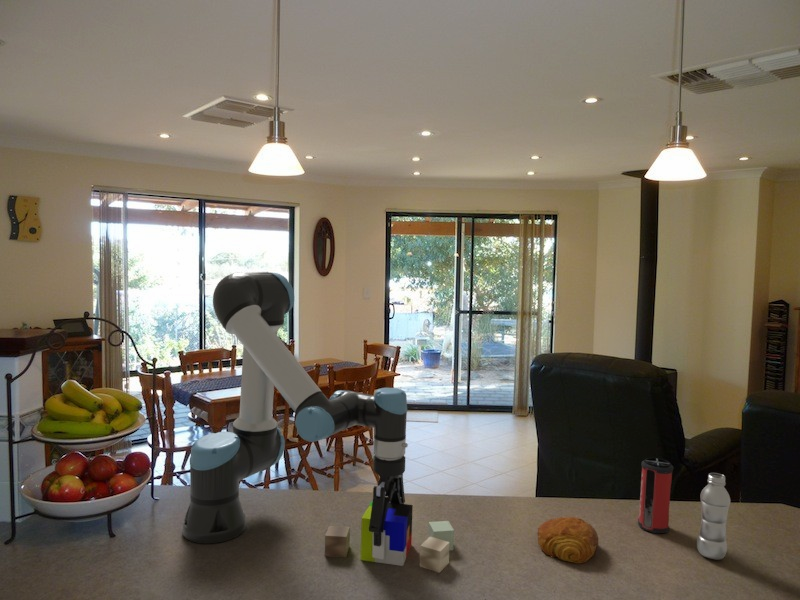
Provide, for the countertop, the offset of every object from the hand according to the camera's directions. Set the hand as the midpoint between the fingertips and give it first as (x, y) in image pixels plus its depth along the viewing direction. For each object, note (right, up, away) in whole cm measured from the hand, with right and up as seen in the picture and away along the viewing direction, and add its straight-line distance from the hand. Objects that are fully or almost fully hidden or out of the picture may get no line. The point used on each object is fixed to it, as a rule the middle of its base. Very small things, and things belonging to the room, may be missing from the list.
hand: (387, 546), depth 138 cm
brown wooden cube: (-12, -1, 0) cm, 12 cm away
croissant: (+44, -3, +5) cm, 44 cm away
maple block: (+11, -2, -5) cm, 12 cm away
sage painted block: (+13, -2, +4) cm, 14 cm away
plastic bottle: (+78, -4, +3) cm, 78 cm away
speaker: (+70, -2, +17) cm, 72 cm away
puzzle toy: (0, -2, 0) cm, 2 cm away
